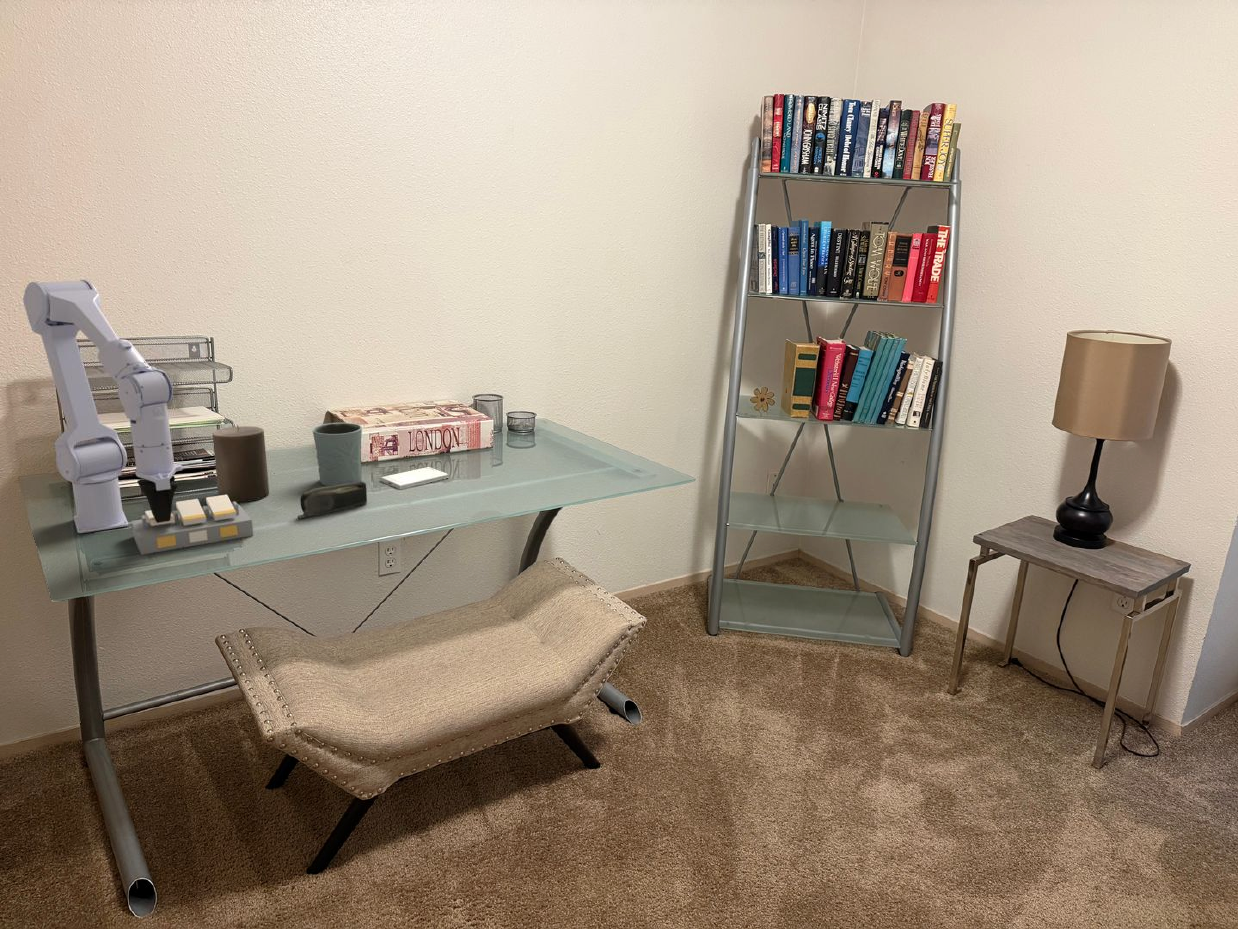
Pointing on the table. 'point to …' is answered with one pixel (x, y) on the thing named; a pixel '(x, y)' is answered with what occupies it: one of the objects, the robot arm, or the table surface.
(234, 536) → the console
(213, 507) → the rocker
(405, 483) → the hard drive
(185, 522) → the rocker
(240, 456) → the pillar candle
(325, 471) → the grey green cup
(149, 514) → the block
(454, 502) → the table surface
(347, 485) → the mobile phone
